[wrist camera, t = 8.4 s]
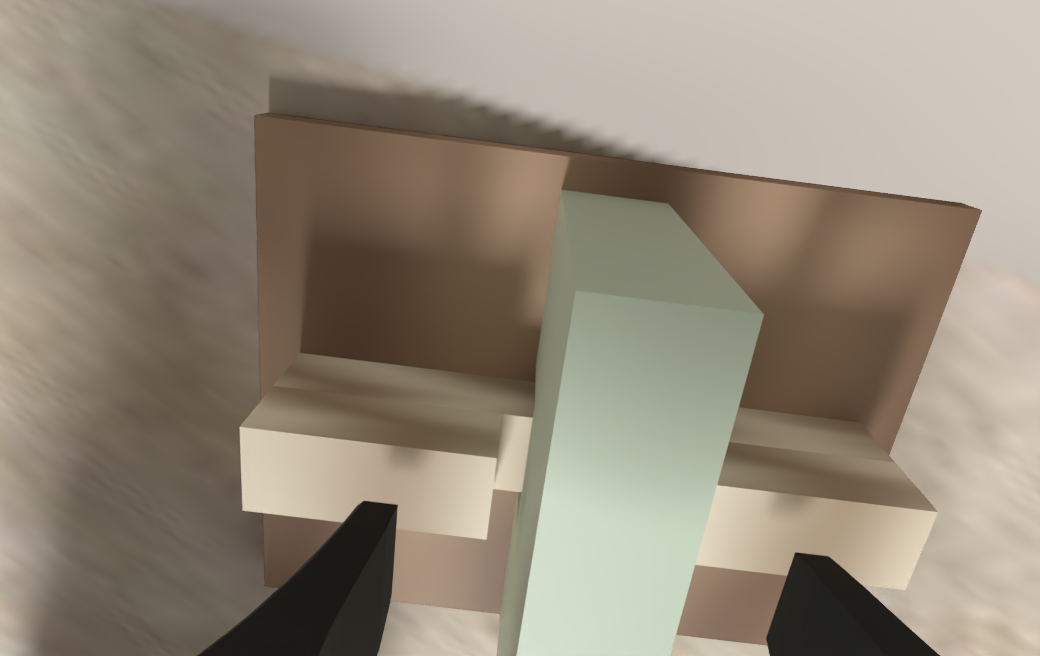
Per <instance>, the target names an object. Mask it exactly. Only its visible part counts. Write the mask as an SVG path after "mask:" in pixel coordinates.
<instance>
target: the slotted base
mask: <svg viewBox="0 0 1040 656" xmlns="http://www.w3.org/2000/svg"><path fill="white" fill-rule="evenodd" d="M254 128H255V173H256V218H257V264H258V309H259V354H260V399H261V401H260V402H259V404H258V405H257V406H256V407H255V409H254V410H253V411H252V412H251V413H250V415H249V416H248V417H247V418H246V420H245V421H244V422H243V423H242V424H241V426H240V455H241V483H242V511H251V512H259V513H263V535H264V580H265V586H268V587H276V588H280V587H281V586H282V585H283V584H284V583H285V582H286V581H287V580H288V579H290V578H291V577H292V576H293V575H294V574H295V573H296V572H297V571H298V570H299V569H300V568H301V567H302V566H303V565H304V564H305V563H306V562H307V561H308V560H309V559H310V558H311V557H312V556H313V554H314V553H315V552H316V551H317V550H318V549H319V548H320V547H321V546H322V545H323V544H324V543H325V542H326V541H327V540H328V539H329V538H330V537H331V535H332V534H333V533H334V532H335V531H336V530H337V529H338V528H339V527H340V525H341V524H342V523H343V522H344V521H345V520H346V518H347V517H348V516H349V515H350V514H351V513H352V511H353V510H354V509H355V508H356V506H357V505H359V504H360V503H361V502H363V501H371V502H380V503H388V504H396V505H398V510H397V525H396V540H395V554H394V569H393V584H392V596H391V600H390V601H395V602H403V603H412V604H420V605H429V606H437V607H446V608H454V609H463V610H471V611H480V612H488V613H497V614H500V608H501V601H502V594H503V587H504V580H505V573H506V566H507V559H508V552H509V545H510V539H511V532H512V525H513V518H514V511H515V504H516V497H517V492H522V487H523V481H524V474H525V467H526V460H527V454H528V447H529V440H530V433H531V427H532V420H533V413H534V406H535V375H536V359H537V352H538V346H539V339H540V332H541V325H542V318H543V311H544V304H545V297H546V290H547V284H548V277H549V270H550V263H551V256H552V249H553V242H554V235H555V228H556V221H557V215H558V208H559V201H560V194H561V190H567V191H575V192H583V193H591V194H598V195H606V196H614V197H622V198H629V199H637V200H645V201H653V202H660V203H668V204H669V205H670V206H671V207H672V208H673V210H674V211H675V212H676V213H677V214H678V215H679V216H680V218H681V219H682V220H683V221H684V222H685V223H686V225H687V226H688V227H689V228H690V229H691V230H692V232H693V233H694V234H695V235H696V236H697V237H698V238H699V240H700V241H701V242H702V243H703V244H704V245H705V247H706V248H707V249H708V250H709V251H710V252H711V254H712V255H713V256H714V257H715V258H716V259H717V261H718V262H719V263H720V264H721V265H722V266H723V267H724V269H725V270H726V271H727V272H728V273H729V274H730V276H731V277H732V278H733V279H734V280H735V281H736V283H737V284H738V285H739V286H740V287H741V288H742V289H743V291H744V292H745V293H746V294H747V295H748V296H749V298H750V299H751V300H752V301H753V302H754V303H755V305H756V306H757V307H758V308H759V309H760V310H761V311H762V313H763V314H764V317H763V320H762V324H761V328H760V331H759V335H758V338H757V342H756V346H755V349H754V353H753V357H752V360H751V364H750V367H749V371H748V375H747V378H746V382H745V386H744V389H743V393H742V397H741V400H740V404H739V407H738V411H737V415H736V418H735V422H734V426H733V429H732V433H731V437H730V440H729V444H728V447H727V451H726V455H725V458H724V462H723V466H722V469H721V473H720V477H719V480H718V484H717V487H716V491H715V495H714V498H713V502H712V506H711V509H710V513H709V517H708V520H707V524H706V527H705V531H704V535H703V538H702V542H701V546H700V549H699V553H698V557H697V560H696V564H695V567H694V571H693V575H692V578H691V582H690V586H689V589H688V593H687V597H686V600H685V604H684V607H683V611H682V615H681V618H680V622H679V626H678V629H677V633H676V635H683V636H691V637H700V638H708V639H717V640H725V641H734V642H742V643H751V644H759V645H767V640H766V637H767V634H768V631H769V628H770V625H771V622H772V619H773V616H774V613H775V610H776V607H777V604H778V601H779V598H780V595H781V593H782V590H783V587H784V584H785V581H786V578H787V575H788V572H789V569H790V566H791V563H792V560H793V557H794V554H795V552H798V553H806V554H814V555H823V556H829V557H830V558H831V559H833V560H834V561H835V562H836V563H837V564H839V565H840V566H841V567H842V568H843V569H844V570H846V571H847V572H848V573H849V574H850V575H851V576H852V577H854V578H855V579H856V580H857V581H858V582H859V583H860V584H861V585H868V586H877V587H885V588H893V589H902V590H905V589H906V587H907V585H908V582H909V580H910V577H911V575H912V573H913V570H914V568H915V566H916V563H917V561H918V559H919V556H920V554H921V552H922V549H923V547H924V545H925V542H926V540H927V538H928V535H929V533H930V531H931V528H932V526H933V524H934V521H935V519H936V517H937V514H938V511H937V510H936V509H935V508H934V507H933V505H932V504H931V503H930V502H929V501H928V500H927V499H926V497H925V496H924V495H923V494H922V493H921V492H920V491H919V489H918V488H917V487H916V486H915V485H914V484H913V483H912V481H911V480H910V479H909V478H908V477H907V476H906V474H905V473H904V472H903V471H902V470H901V469H900V468H899V466H898V465H897V464H896V463H895V462H894V461H893V460H892V458H891V457H890V456H889V454H890V451H891V449H892V446H893V443H894V441H895V438H896V435H897V433H898V430H899V428H900V425H901V422H902V420H903V417H904V414H905V412H906V409H907V407H908V404H909V401H910V399H911V396H912V393H913V391H914V388H915V385H916V383H917V380H918V378H919V375H920V372H921V370H922V367H923V364H924V362H925V359H926V357H927V354H928V351H929V349H930V346H931V343H932V341H933V338H934V335H935V333H936V330H937V328H938V325H939V322H940V320H941V317H942V314H943V312H944V309H945V307H946V304H947V301H948V299H949V296H950V293H951V291H952V288H953V285H954V283H955V280H956V278H957V275H958V272H959V270H960V267H961V264H962V262H963V259H964V257H965V254H966V251H967V249H968V246H969V243H970V241H971V238H972V235H973V233H974V230H975V228H976V225H977V222H978V220H979V217H980V214H981V212H982V210H980V209H977V208H974V207H971V206H968V205H965V204H962V203H956V202H949V201H941V200H934V199H926V198H918V197H910V196H902V195H895V194H888V193H880V192H872V191H864V190H857V189H849V188H841V187H834V186H826V185H818V184H811V183H803V182H795V181H788V180H780V179H772V178H765V177H756V176H749V175H742V174H734V173H726V172H719V171H711V170H703V169H696V168H688V167H680V166H673V165H665V164H657V163H649V162H642V161H634V160H626V159H619V158H611V157H603V156H596V155H588V154H580V153H573V152H565V151H557V150H550V149H542V148H534V147H527V146H519V145H511V144H504V143H496V142H488V141H481V140H473V139H465V138H457V137H450V136H442V135H434V134H427V133H419V132H411V131H404V130H396V129H388V128H381V127H373V126H365V125H358V124H350V123H342V122H335V121H327V120H319V119H312V118H304V117H296V116H289V115H281V114H273V113H265V114H260V115H255V116H254Z"/></svg>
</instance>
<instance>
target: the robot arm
mask: <svg viewBox="0 0 1040 656" xmlns="http://www.w3.org/2000/svg"><path fill="white" fill-rule="evenodd" d="M397 510H398V505H396V504H388V503H380V502H371V501H363V502H361V503H360V504H359V505H357V506H356V508H355V509H354V510H353V511H352V513H351V514H350V515H349V516H348V517H347V518H346V520H345V521H344V522H343V523H342V524H341V525H340V527H339V528H338V529H337V530H336V531H335V532H334V533H333V534H332V535H331V537H330V538H329V539H328V540H327V541H326V542H325V543H324V544H323V545H322V546H321V547H320V548H319V549H318V550H317V551H316V552H315V553H314V554H313V556H312V557H311V558H310V559H309V560H308V561H307V562H306V563H305V564H304V565H303V566H302V567H301V568H300V569H299V570H298V571H297V572H296V573H295V574H294V575H293V576H292V577H291V578H290V579H288V580H287V581H286V582H285V583H284V584H283V585H282V586H281V587H280V588H279V589H278V590H276V591H275V592H274V593H273V594H272V595H271V596H270V597H269V598H268V599H266V600H265V601H264V602H263V603H262V604H261V605H260V606H259V607H258V608H256V609H255V610H254V611H253V612H252V613H251V614H250V615H248V616H247V617H246V618H245V619H244V620H242V621H241V622H240V623H239V624H238V625H236V626H235V627H234V628H233V629H231V630H230V631H229V632H228V633H226V634H225V635H224V636H222V637H221V638H220V639H218V640H217V641H216V642H215V643H213V644H212V645H211V646H209V647H208V648H207V649H205V650H204V651H203V652H201V653H200V654H199V655H197V656H377V654H378V651H379V648H380V643H381V639H382V635H383V631H384V626H385V622H386V618H387V613H388V609H389V604H390V600H391V596H392V584H393V569H394V554H395V540H396V525H397ZM766 640H767V645H768V649H769V654H770V656H940V655H939V654H937V653H936V652H935V651H934V650H933V649H932V648H931V647H929V646H928V645H927V644H926V643H925V642H924V641H923V640H922V639H920V638H919V637H918V636H917V635H916V634H915V633H914V632H913V631H912V630H910V629H909V628H908V627H907V626H906V625H905V624H904V623H903V622H902V621H901V620H899V619H898V618H897V617H896V616H895V615H894V614H893V613H892V612H891V611H890V610H889V609H887V608H886V607H885V606H884V605H883V604H882V603H881V602H880V601H879V600H878V599H877V598H875V597H874V596H873V595H872V594H871V593H870V592H869V591H868V590H867V589H866V588H865V587H863V586H862V585H861V584H860V583H859V582H858V581H857V580H856V579H855V578H854V577H852V576H851V575H850V574H849V573H848V572H847V571H846V570H844V569H843V568H842V567H841V566H840V565H839V564H837V563H836V562H835V561H834V560H833V559H831V558H830V557H829V556H823V555H814V554H806V553H798V552H795V554H794V557H793V560H792V563H791V566H790V569H789V572H788V575H787V578H786V581H785V584H784V587H783V590H782V593H781V595H780V598H779V601H778V604H777V607H776V610H775V613H774V616H773V619H772V622H771V625H770V628H769V631H768V634H767V637H766Z"/></svg>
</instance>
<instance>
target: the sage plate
mask: <svg viewBox="0 0 1040 656" xmlns="http://www.w3.org/2000/svg"><path fill="white" fill-rule="evenodd" d="M763 317H764V314H763V313H762V311H761V310H760V309H759V308H758V307H757V306H756V305H755V303H754V302H753V301H752V300H751V299H750V298H749V296H748V295H747V294H746V293H745V292H744V291H743V289H742V288H741V287H740V286H739V285H738V284H737V283H736V281H735V280H734V279H733V278H732V277H731V276H730V274H729V273H728V272H727V271H726V270H725V269H724V267H723V266H722V265H721V264H720V263H719V262H718V261H717V259H716V258H715V257H714V256H713V255H712V254H711V252H710V251H709V250H708V249H707V248H706V247H705V245H704V244H703V243H702V242H701V241H700V240H699V238H698V237H697V236H696V235H695V234H694V233H693V232H692V230H691V229H690V228H689V227H688V226H687V225H686V223H685V222H684V221H683V220H682V219H681V218H680V216H679V215H678V214H677V213H676V212H675V211H674V210H673V208H672V207H671V206H670V205H669V204H668V203H660V202H653V201H645V200H637V199H629V198H622V197H614V196H606V195H598V194H591V193H583V192H575V191H567V190H561V194H560V201H559V208H558V215H557V221H556V228H555V235H554V242H553V249H552V256H551V263H550V270H549V277H548V284H547V290H546V297H545V304H544V311H543V318H542V325H541V332H540V339H539V346H538V352H537V359H536V375H535V406H534V413H533V420H532V427H531V433H530V440H529V447H528V454H527V460H526V467H525V474H524V481H523V487H522V492H517V497H516V504H515V511H514V518H513V525H512V532H511V539H510V545H509V552H508V559H507V566H506V573H505V580H504V587H503V594H502V601H501V608H500V621H499V635H498V648H497V656H670V655H671V651H672V647H673V644H674V640H675V637H676V633H677V629H678V626H679V622H680V618H681V615H682V611H683V607H684V604H685V600H686V597H687V593H688V589H689V586H690V582H691V578H692V575H693V571H694V567H695V564H696V560H697V557H698V553H699V549H700V546H701V542H702V538H703V535H704V531H705V527H706V524H707V520H708V517H709V513H710V509H711V506H712V502H713V498H714V495H715V491H716V487H717V484H718V480H719V477H720V473H721V469H722V466H723V462H724V458H725V455H726V451H727V447H728V444H729V440H730V437H731V433H732V429H733V426H734V422H735V418H736V415H737V411H738V407H739V404H740V400H741V397H742V393H743V389H744V386H745V382H746V378H747V375H748V371H749V367H750V364H751V360H752V357H753V353H754V349H755V346H756V342H757V338H758V335H759V331H760V328H761V324H762V320H763Z"/></svg>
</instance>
